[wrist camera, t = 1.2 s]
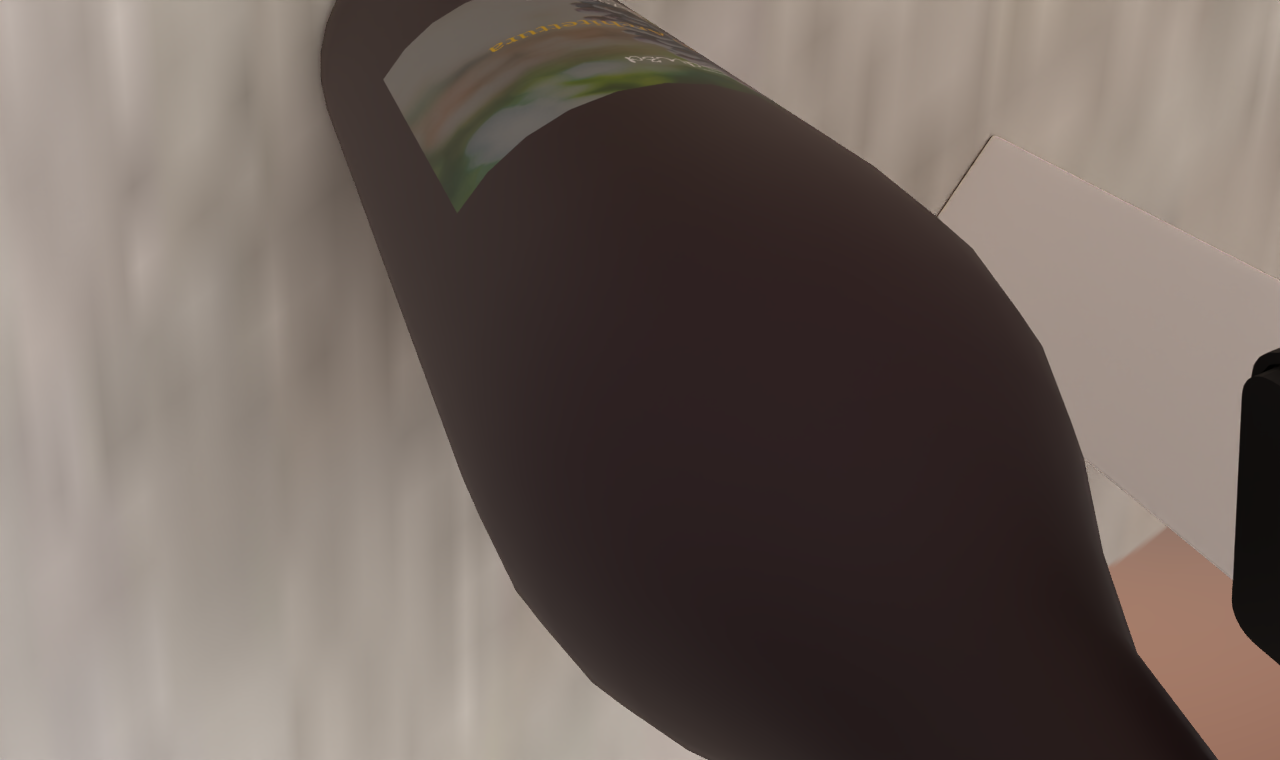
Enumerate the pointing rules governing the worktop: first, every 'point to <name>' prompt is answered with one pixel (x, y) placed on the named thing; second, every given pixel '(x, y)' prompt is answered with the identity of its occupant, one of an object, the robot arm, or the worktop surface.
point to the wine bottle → (734, 399)
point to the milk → (1128, 332)
